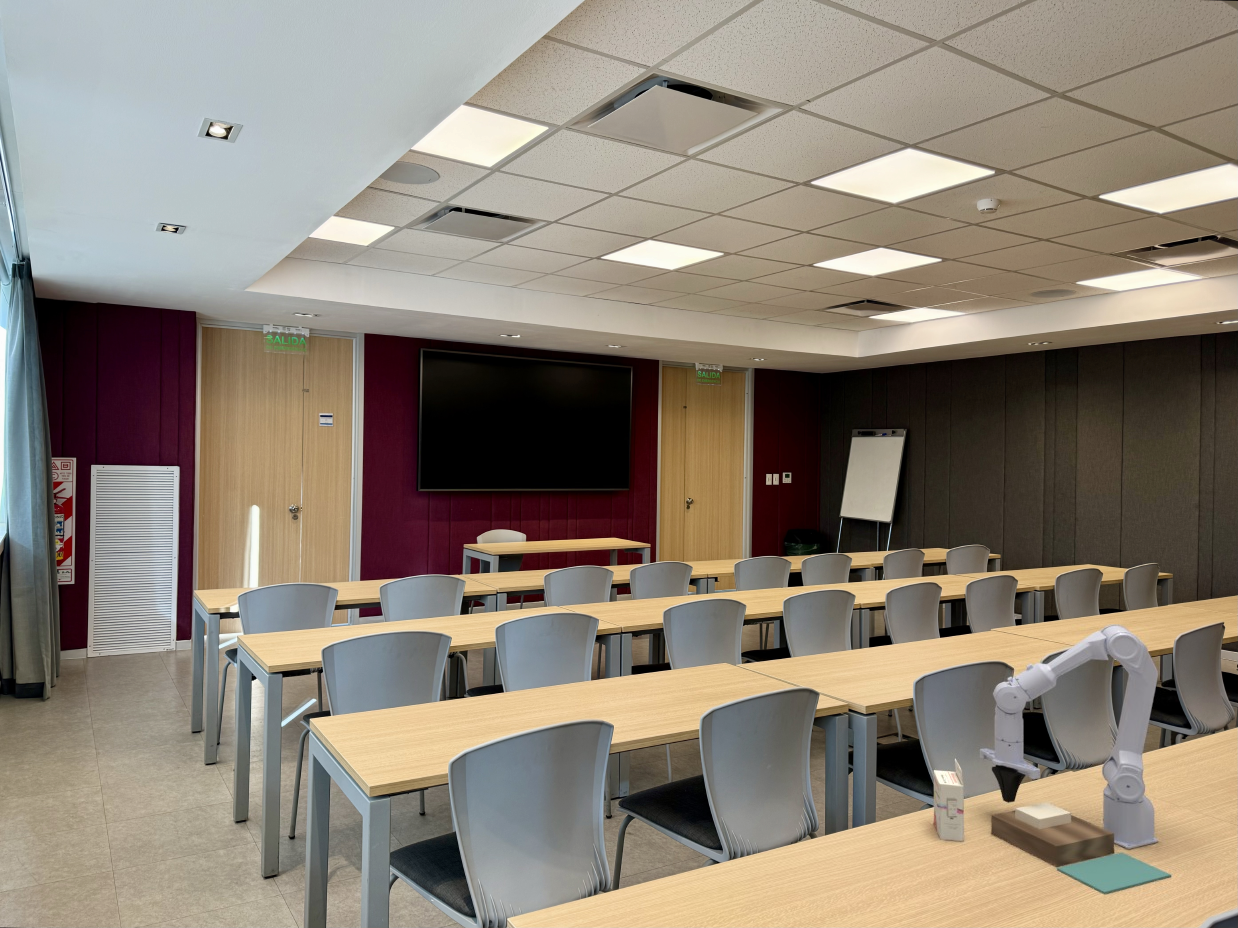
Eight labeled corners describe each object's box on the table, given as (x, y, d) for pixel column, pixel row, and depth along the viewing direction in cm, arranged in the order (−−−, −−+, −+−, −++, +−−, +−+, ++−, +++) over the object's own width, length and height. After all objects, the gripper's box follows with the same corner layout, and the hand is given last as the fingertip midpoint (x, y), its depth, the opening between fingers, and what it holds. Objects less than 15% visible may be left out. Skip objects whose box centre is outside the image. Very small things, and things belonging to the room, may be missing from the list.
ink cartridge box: (932, 823, 182) (932, 755, 182) (956, 825, 181) (956, 757, 181) (939, 839, 173) (939, 768, 174) (964, 842, 172) (964, 770, 173)
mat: (1121, 854, 167) (1121, 852, 167) (1171, 876, 158) (1171, 874, 158) (1056, 869, 160) (1056, 867, 160) (1104, 894, 151) (1104, 891, 151)
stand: (1046, 822, 182) (1046, 803, 182) (1114, 853, 168) (1114, 833, 168) (991, 833, 176) (991, 814, 176) (1056, 866, 162) (1056, 846, 162)
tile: (1046, 811, 178) (1046, 802, 178) (1071, 822, 173) (1071, 812, 173) (1015, 817, 175) (1015, 808, 175) (1039, 829, 169) (1039, 819, 169)
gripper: (969, 731, 187) (969, 791, 187) (1022, 750, 174) (1022, 816, 174) (993, 727, 190) (993, 787, 190) (1047, 747, 177) (1047, 811, 176)
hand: (1008, 800), depth 182 cm, fingers closed
